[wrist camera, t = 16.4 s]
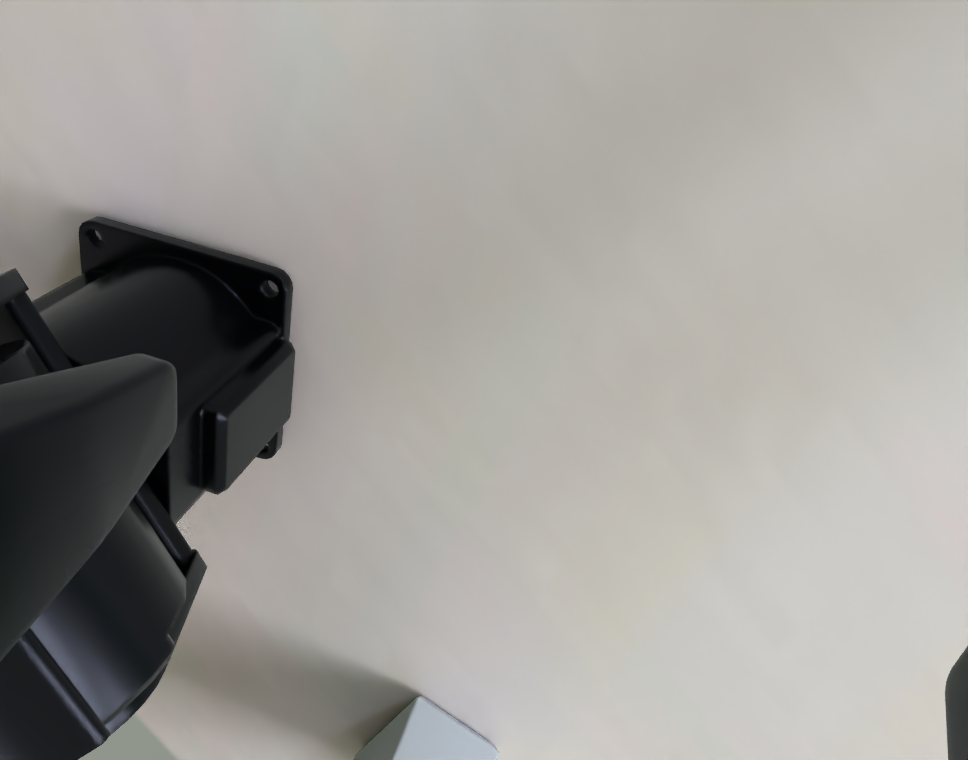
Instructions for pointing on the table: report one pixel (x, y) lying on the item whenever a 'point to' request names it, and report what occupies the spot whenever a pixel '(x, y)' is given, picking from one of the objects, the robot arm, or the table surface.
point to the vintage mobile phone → (427, 737)
